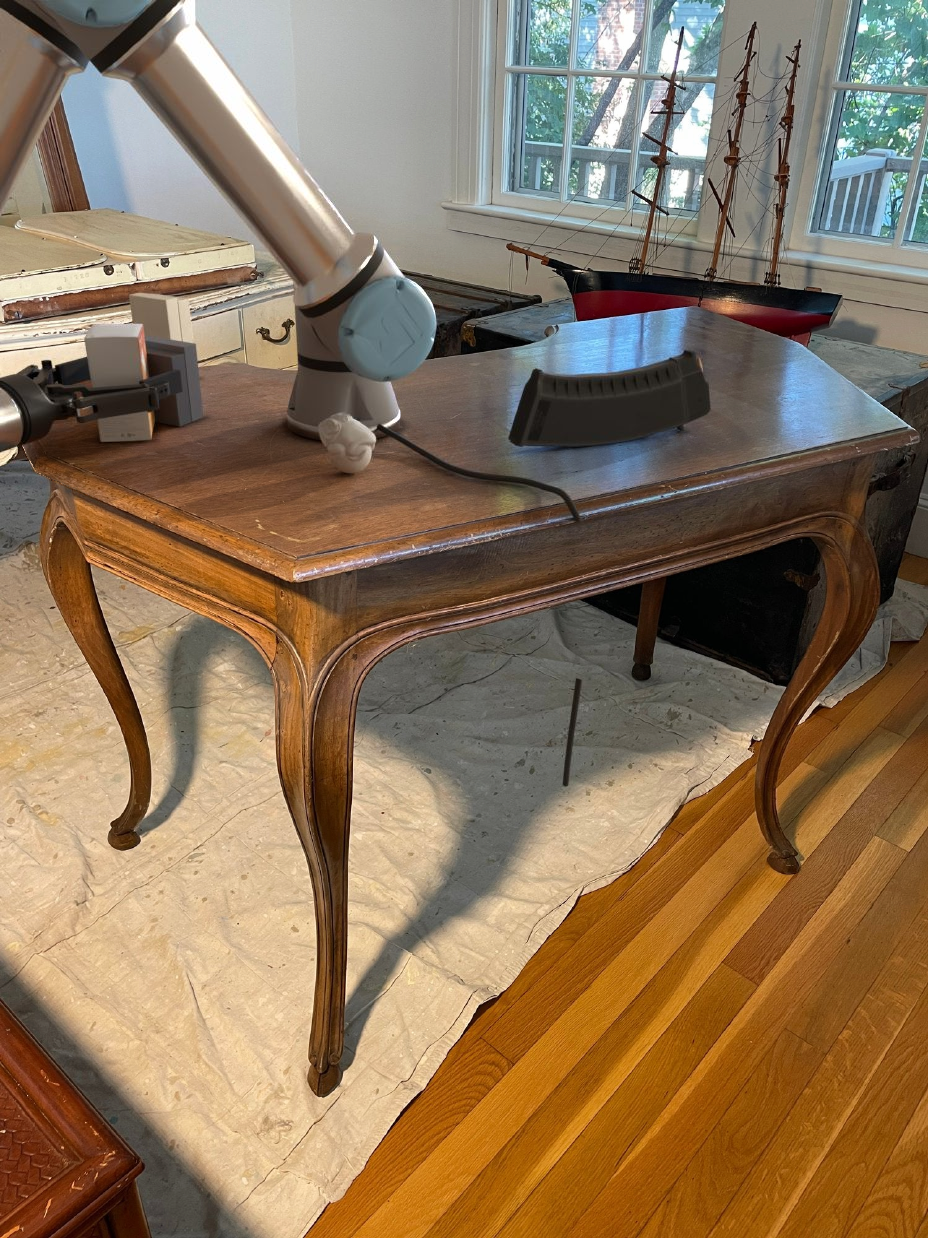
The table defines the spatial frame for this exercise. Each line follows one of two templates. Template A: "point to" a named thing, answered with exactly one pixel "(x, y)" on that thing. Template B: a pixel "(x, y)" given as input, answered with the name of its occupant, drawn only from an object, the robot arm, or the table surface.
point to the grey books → (184, 358)
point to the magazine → (610, 404)
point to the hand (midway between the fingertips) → (137, 372)
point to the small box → (119, 375)
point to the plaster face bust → (347, 442)
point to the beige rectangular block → (162, 316)
